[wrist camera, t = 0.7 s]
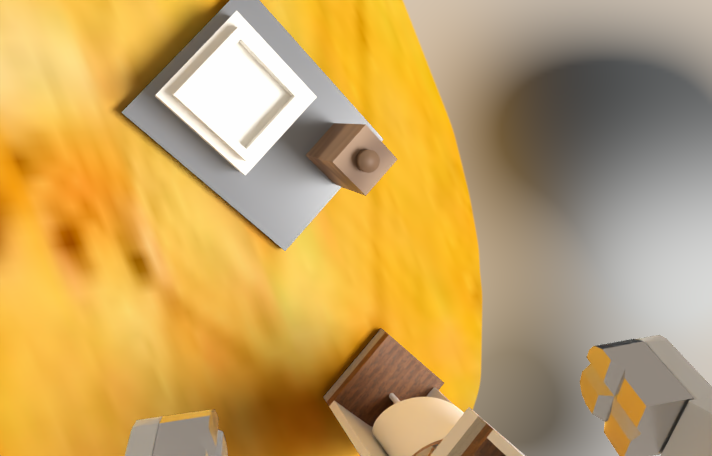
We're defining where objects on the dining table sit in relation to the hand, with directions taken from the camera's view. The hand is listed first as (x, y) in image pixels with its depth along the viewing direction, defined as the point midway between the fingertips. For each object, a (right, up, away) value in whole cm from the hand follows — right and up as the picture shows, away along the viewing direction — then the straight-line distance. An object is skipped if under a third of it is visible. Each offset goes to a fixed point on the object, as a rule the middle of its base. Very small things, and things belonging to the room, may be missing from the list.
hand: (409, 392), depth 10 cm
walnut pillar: (-3, +11, +40) cm, 42 cm away
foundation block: (-13, +16, +36) cm, 42 cm away
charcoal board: (-10, +14, +38) cm, 42 cm away
